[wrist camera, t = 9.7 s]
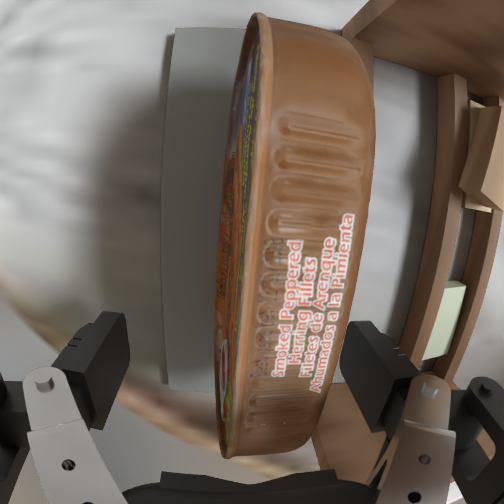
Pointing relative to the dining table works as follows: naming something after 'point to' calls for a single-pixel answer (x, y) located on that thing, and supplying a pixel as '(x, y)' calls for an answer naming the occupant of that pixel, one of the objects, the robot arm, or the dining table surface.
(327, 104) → the tin
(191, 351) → the felt mat
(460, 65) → the rack
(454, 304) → the offcut sage
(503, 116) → the offcut oak
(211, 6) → the dining table surface
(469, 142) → the offcut maple
